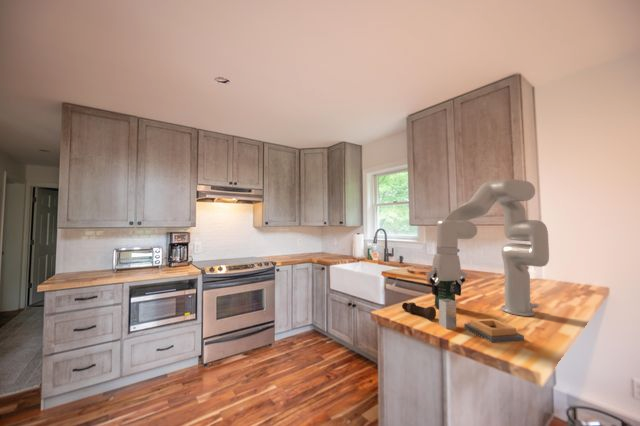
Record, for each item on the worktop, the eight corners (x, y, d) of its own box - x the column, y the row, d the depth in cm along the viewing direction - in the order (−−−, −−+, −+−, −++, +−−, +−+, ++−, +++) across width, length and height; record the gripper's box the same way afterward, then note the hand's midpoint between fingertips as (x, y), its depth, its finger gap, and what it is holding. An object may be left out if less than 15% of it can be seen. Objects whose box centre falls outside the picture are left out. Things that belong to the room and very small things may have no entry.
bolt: (405, 313, 125) (434, 322, 112) (398, 309, 123) (427, 318, 110) (408, 301, 127) (437, 309, 114) (402, 297, 125) (431, 304, 112)
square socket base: (493, 325, 106) (493, 316, 106) (524, 340, 93) (523, 329, 93) (464, 327, 103) (464, 318, 104) (491, 342, 91) (491, 332, 91)
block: (448, 323, 108) (448, 298, 108) (456, 328, 103) (456, 301, 104) (439, 324, 107) (438, 299, 107) (446, 328, 102) (446, 302, 103)
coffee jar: (448, 312, 122) (448, 271, 123) (432, 307, 128) (432, 268, 129) (458, 308, 128) (458, 269, 129) (442, 304, 134) (442, 267, 135)
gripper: (459, 250, 111) (459, 292, 110) (421, 250, 108) (421, 292, 107) (473, 252, 104) (472, 297, 103) (432, 252, 101) (432, 297, 100)
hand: (446, 295), depth 105 cm, fingers open, 9 cm apart
